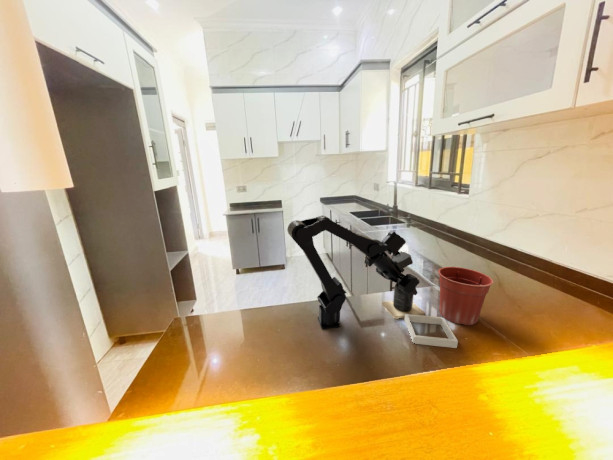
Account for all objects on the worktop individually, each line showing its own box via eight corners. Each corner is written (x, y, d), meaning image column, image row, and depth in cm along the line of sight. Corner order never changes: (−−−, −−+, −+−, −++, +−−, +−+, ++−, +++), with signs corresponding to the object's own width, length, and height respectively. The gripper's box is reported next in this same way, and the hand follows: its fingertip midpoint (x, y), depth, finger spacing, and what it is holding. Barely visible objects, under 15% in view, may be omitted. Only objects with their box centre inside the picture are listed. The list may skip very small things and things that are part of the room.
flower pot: (476, 308, 97) (483, 269, 94) (492, 333, 82) (501, 289, 78) (429, 301, 102) (434, 264, 98) (437, 324, 87) (443, 281, 83)
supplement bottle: (416, 311, 93) (419, 281, 90) (399, 313, 92) (402, 283, 89) (404, 301, 100) (407, 273, 97) (389, 303, 98) (391, 275, 95)
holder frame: (412, 343, 78) (413, 336, 77) (404, 319, 90) (404, 313, 89) (456, 348, 76) (458, 341, 75) (442, 323, 88) (443, 317, 87)
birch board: (394, 319, 90) (395, 316, 90) (381, 304, 100) (382, 302, 99) (425, 316, 92) (425, 313, 92) (409, 302, 102) (409, 299, 101)
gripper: (417, 255, 80) (441, 283, 86) (384, 239, 98) (406, 263, 103) (394, 280, 80) (419, 307, 85) (365, 260, 97) (388, 283, 103)
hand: (408, 288), depth 94 cm, fingers open, 9 cm apart
